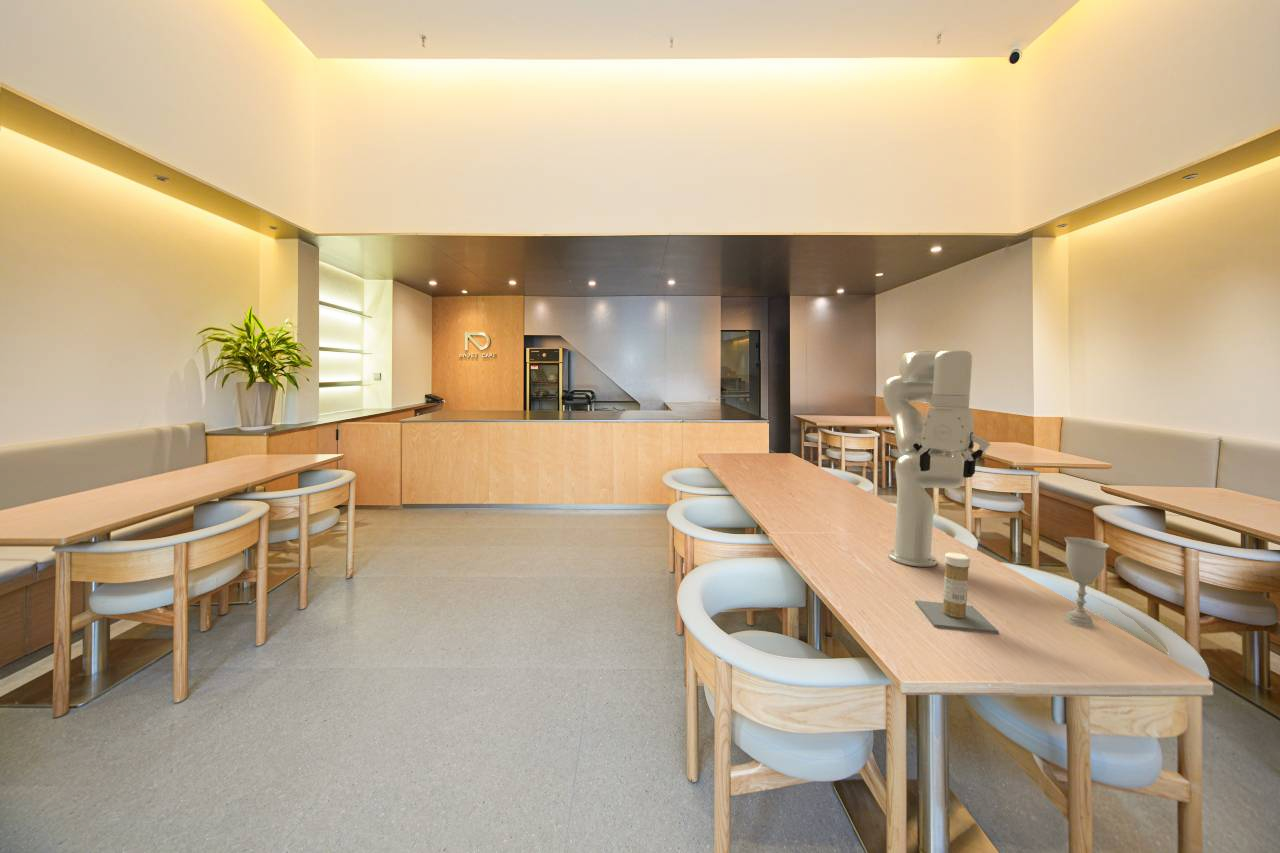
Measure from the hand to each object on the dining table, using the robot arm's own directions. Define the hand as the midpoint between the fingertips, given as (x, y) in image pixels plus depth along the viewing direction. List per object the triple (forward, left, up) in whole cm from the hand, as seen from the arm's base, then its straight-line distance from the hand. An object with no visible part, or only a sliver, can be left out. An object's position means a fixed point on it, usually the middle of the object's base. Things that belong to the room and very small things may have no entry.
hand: (945, 473), depth 116 cm
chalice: (+8, +25, -31) cm, 40 cm away
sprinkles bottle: (+12, -1, -30) cm, 32 cm away
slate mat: (+12, -1, -30) cm, 33 cm away
